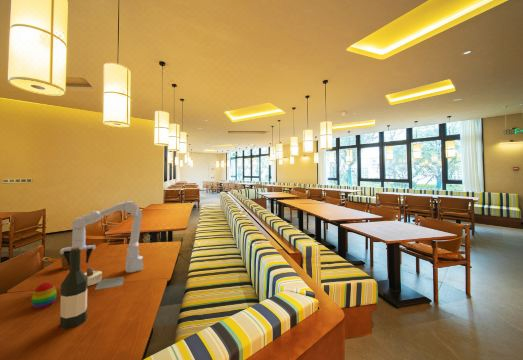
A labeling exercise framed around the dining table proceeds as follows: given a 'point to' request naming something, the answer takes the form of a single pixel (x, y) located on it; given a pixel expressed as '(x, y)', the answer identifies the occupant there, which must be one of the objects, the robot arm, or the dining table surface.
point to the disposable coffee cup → (64, 261)
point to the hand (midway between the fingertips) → (78, 263)
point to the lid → (92, 274)
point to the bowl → (94, 281)
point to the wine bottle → (74, 294)
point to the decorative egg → (44, 295)
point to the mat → (110, 283)
